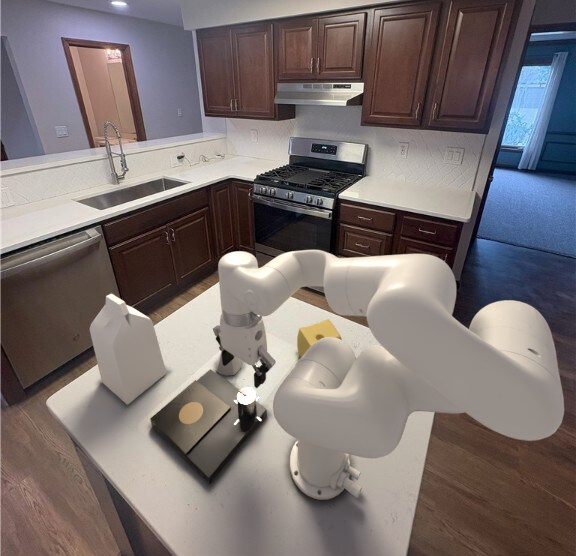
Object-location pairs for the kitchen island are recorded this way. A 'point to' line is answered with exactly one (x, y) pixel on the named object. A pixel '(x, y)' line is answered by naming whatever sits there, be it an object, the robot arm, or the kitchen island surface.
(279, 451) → the kitchen island surface
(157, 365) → the milk
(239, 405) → the hob knob
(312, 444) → the robot arm
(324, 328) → the cheese
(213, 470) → the hob
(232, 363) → the flask
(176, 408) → the burner
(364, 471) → the kitchen island surface
